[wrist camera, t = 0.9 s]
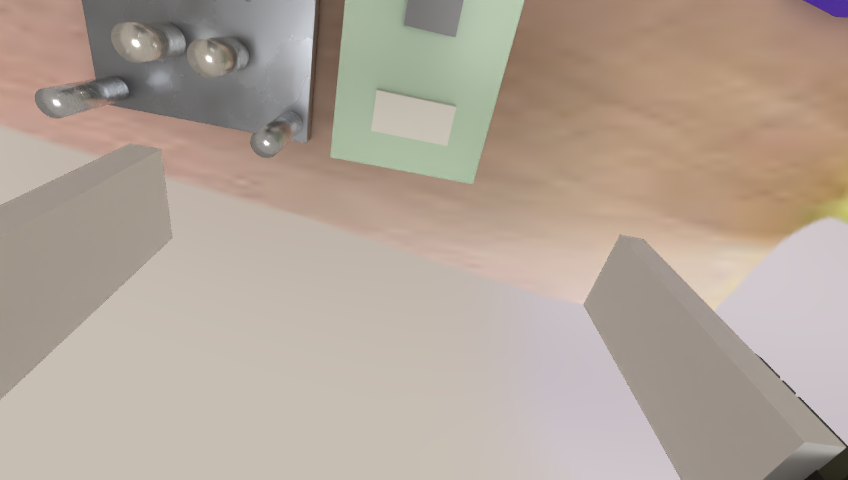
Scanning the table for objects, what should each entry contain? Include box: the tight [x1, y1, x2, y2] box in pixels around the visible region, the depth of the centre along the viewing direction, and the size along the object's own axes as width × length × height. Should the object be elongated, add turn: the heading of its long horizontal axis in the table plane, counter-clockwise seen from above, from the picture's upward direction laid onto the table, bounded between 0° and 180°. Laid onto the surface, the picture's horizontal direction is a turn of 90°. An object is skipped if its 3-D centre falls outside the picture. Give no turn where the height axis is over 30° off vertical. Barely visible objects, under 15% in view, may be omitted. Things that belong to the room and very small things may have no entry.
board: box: [330, 0, 524, 184], centre depth 20 cm, size 12×8×4 cm, turn 168°
